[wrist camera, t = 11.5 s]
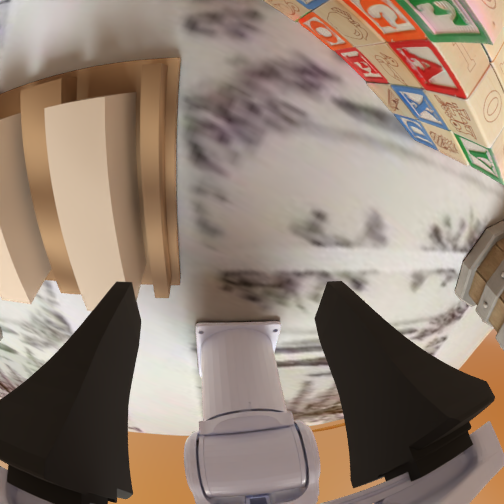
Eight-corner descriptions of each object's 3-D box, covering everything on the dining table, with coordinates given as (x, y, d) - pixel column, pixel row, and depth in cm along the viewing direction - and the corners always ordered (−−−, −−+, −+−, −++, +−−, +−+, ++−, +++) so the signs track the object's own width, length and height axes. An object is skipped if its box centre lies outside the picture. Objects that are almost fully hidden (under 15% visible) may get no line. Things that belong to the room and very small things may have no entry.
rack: (180, 278, 22) (177, 303, 19) (22, 272, 19) (9, 292, 17) (181, 58, 13) (174, 53, 10) (-14, 101, 10) (-37, 108, 8)
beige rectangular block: (56, 261, 18) (30, 304, 14) (28, 260, 18) (2, 299, 13) (29, 110, 11) (-19, 126, 7) (-1, 119, 11) (-46, 139, 7)
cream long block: (146, 263, 19) (133, 313, 15) (107, 263, 19) (87, 310, 15) (136, 92, 13) (104, 96, 9) (87, 98, 12) (44, 108, 8)
